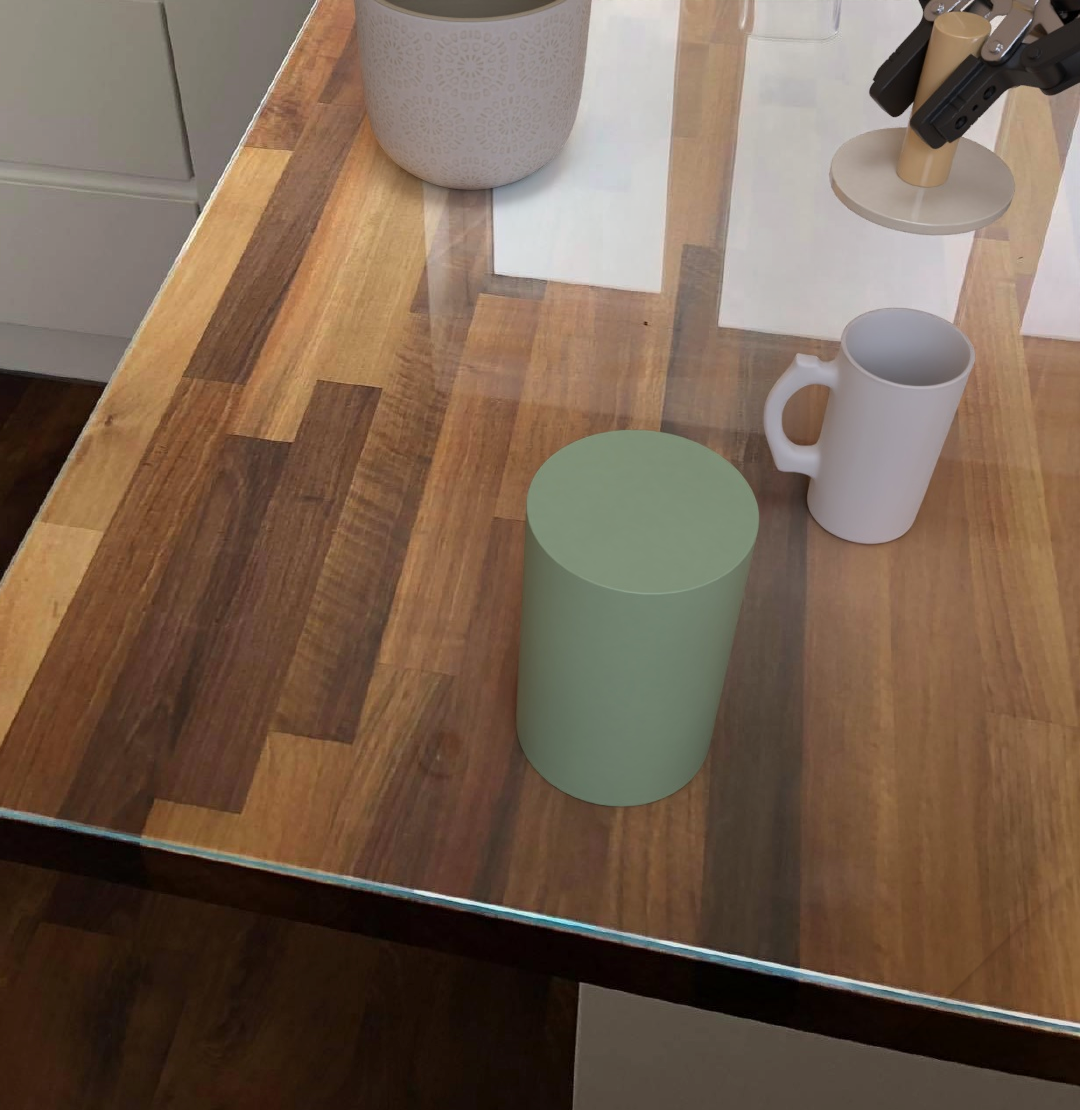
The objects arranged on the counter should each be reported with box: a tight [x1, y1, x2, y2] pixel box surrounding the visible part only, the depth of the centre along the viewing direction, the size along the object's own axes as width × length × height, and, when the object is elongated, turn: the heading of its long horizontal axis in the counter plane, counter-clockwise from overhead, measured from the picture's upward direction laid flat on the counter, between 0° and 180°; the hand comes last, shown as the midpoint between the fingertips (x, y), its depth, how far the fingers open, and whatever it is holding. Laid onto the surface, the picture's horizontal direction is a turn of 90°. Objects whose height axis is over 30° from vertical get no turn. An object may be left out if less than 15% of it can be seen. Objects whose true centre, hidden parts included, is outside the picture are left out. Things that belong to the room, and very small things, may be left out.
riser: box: [515, 429, 760, 807], centre depth 66 cm, size 10×10×16 cm
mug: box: [762, 307, 976, 545], centre depth 78 cm, size 10×7×12 cm, turn 82°
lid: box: [828, 11, 1016, 236], centre depth 64 cm, size 8×8×8 cm
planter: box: [353, 0, 593, 191], centre depth 104 cm, size 17×17×15 cm
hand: (902, 120), depth 63 cm, fingers closed on lid, 2 cm apart
